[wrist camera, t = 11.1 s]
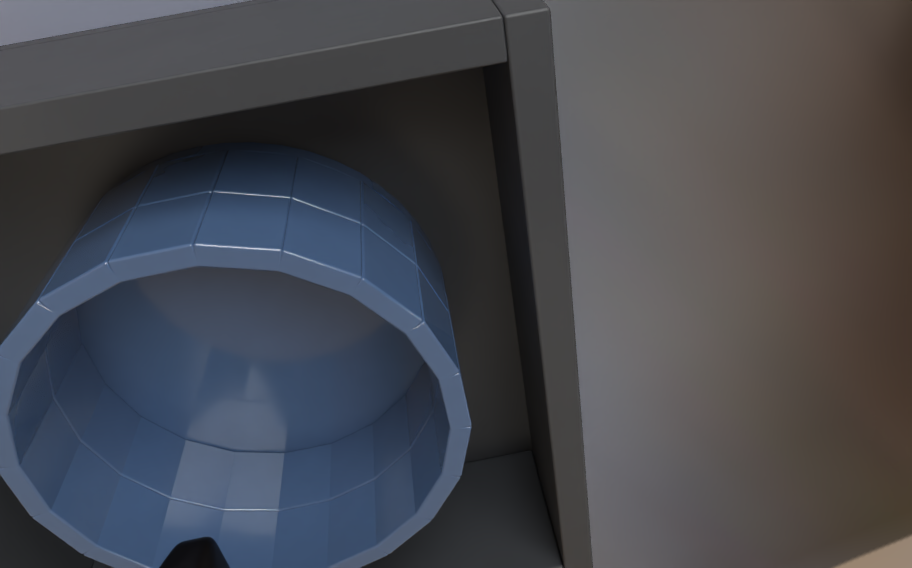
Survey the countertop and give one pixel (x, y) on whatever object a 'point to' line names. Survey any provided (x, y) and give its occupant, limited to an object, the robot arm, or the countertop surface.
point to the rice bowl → (237, 368)
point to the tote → (375, 156)
